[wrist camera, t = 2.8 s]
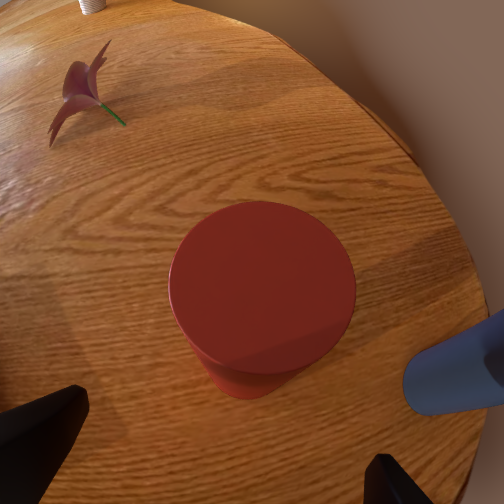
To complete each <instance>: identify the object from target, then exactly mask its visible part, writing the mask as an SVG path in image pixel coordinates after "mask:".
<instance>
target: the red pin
mask: <svg viewBox="0 0 504 504" xmlns="http://www.w3.org/2000/svg"><path fill="white" fill-rule="evenodd" d="M168 292H169V300H170V305H171V308H172V312H173V315H174V317H175V319H176V322H177V324H178V326H179V327H180V329H181V331H182V332H183V334H184V336H185V337H186V339H187V341H188V342H189V344H190V345H191V347H192V349H193V350H194V352H195V353H196V355H197V357H198V358H199V360H200V361H201V363H202V364H203V366H204V367H205V369H206V371H207V372H208V374H209V375H210V377H211V378H212V380H213V381H214V383H215V384H216V385H217V386H218V387H219V388H220V389H221V390H222V391H223V392H225V393H226V394H228V395H230V396H232V397H235V398H239V399H256V398H260V397H262V396H265V395H267V394H268V393H270V392H272V391H273V390H275V389H276V388H278V387H279V386H281V385H282V384H284V383H285V382H287V381H289V380H290V379H292V378H293V377H295V376H296V375H297V374H299V373H300V372H302V371H303V370H305V369H306V368H308V367H309V366H311V365H312V364H313V363H315V362H316V361H318V360H319V359H320V358H322V357H323V356H324V355H326V354H327V353H328V352H329V351H330V350H331V349H332V348H333V347H334V346H335V345H336V344H337V343H338V341H339V340H340V339H341V337H342V336H343V334H344V333H345V331H346V329H347V327H348V325H349V323H350V321H351V318H352V315H353V312H354V307H355V302H356V282H355V275H354V271H353V267H352V264H351V261H350V259H349V256H348V254H347V252H346V251H345V249H344V247H343V245H342V244H341V243H340V241H339V240H338V238H337V237H336V236H335V235H334V234H333V233H332V232H331V230H329V229H328V228H327V227H326V226H325V225H324V224H323V223H321V222H320V221H319V220H317V219H316V218H314V217H313V216H311V215H309V214H307V213H306V212H304V211H301V210H299V209H297V208H294V207H291V206H288V205H284V204H279V203H274V202H262V201H259V202H246V203H239V204H235V205H231V206H228V207H225V208H223V209H220V210H218V211H216V212H214V213H212V214H210V215H209V216H207V217H206V218H204V219H203V220H201V221H200V222H199V223H198V224H197V225H196V226H194V227H193V228H192V229H191V230H190V232H189V233H188V234H187V235H186V236H185V238H184V239H183V241H182V242H181V244H180V245H179V247H178V249H177V251H176V253H175V255H174V257H173V261H172V264H171V267H170V272H169V279H168Z"/></svg>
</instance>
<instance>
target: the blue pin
mask: <svg viewBox="0 0 504 504" xmlns="http://www.w3.org/2000/svg"><path fill="white" fill-rule="evenodd" d="M403 390H404V395H405V398H406V400H407V402H408V404H409V405H410V407H411V408H412V409H413V410H414V411H416V412H417V413H419V414H422V415H426V416H432V415H441V414H449V413H456V412H463V411H470V410H476V409H481V408H487V407H492V406H497V405H502V404H504V309H503V310H501V311H499V312H498V313H496V314H494V315H492V316H490V317H489V318H487V319H485V320H483V321H482V322H480V323H478V324H476V325H474V326H472V327H471V328H469V329H467V330H465V331H463V332H461V333H459V334H457V335H455V336H453V337H451V338H449V339H447V340H445V341H443V342H441V343H439V344H437V345H435V346H433V347H431V348H428V349H426V350H424V351H422V352H420V353H418V354H417V355H416V356H414V357H413V358H412V360H411V361H410V362H409V364H408V366H407V368H406V370H405V374H404V378H403Z"/></svg>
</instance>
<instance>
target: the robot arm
mask: <svg viewBox="0 0 504 504" xmlns="http://www.w3.org/2000/svg"><path fill="white" fill-rule="evenodd" d="M89 408H90V407H89V401H88V395H87V391H86V389H85V388H83V387H81V386H78V385H71V386H69V387H66V388H64V389H61V390H59V391H56V392H54V393H51V394H49V395H46V396H44V397H41V398H39V399H36V400H34V401H31V402H29V403H26V404H24V405H21V406H18V407H16V408H13V409H10V410H8V411H5V412H2V413H0V504H38V503H39V501H40V500H41V498H42V496H43V495H44V493H45V491H46V490H47V488H48V486H49V485H50V483H51V481H52V480H53V478H54V476H55V475H56V473H57V471H58V470H59V468H60V467H61V465H62V463H63V462H64V460H65V458H66V457H67V455H68V454H69V452H70V450H71V449H72V447H73V445H74V443H75V440H76V438H77V436H78V434H79V432H80V430H81V428H82V425H83V423H84V421H85V419H86V417H87V415H88V413H89ZM363 504H433V502H432V501H431V500H430V499H429V498H428V497H427V496H426V494H425V493H424V492H423V491H422V490H421V489H420V488H419V487H418V485H417V484H416V483H415V482H414V481H413V480H412V479H411V477H410V476H409V475H408V474H407V473H406V472H405V471H404V469H403V468H402V467H401V466H400V465H399V464H398V462H397V461H396V460H395V459H394V458H393V457H392V456H391V455H390V454H377V455H376V456H375V457H374V459H373V460H372V461H371V463H370V464H369V466H368V467H367V469H366V471H365V481H364V501H363Z"/></svg>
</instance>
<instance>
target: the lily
mask: <svg viewBox="0 0 504 504" xmlns="http://www.w3.org/2000/svg"><path fill="white" fill-rule="evenodd" d="M111 40H112V39H111ZM111 40H110V41H109V42H108V43H107V44H106V45H105V46H104V47H103V49H102V50H101V51H100V52H99V54H98V55H97V56H96V58H95V59H94V61H93V62H92V64H91V66H90V68H89V67H88V65H87V64H85V63H83V62H80V61H75V62H73V64H72V65H71V66H70V68H69V70H68V72H67V74H66V78H65V81H64V85H63V94H62V95H63V99H64V101H65V104H64V105H63V106H62V107H61V109H60V110H59V112H58V114H57V115H56V117H55V119H54V120H53V122H52V124H51V126H50V129H49V131H48V133H49V132H50V131H51V130H52V129H53V131H52V134H51V138H50V144H49V147H51V146H52V144H53V142H54V139H55V137H56V135H57V133H58V131H59V129H60V128H61V126H62V124H63V123H64V121H65V120H66V118H68V117H70V116H72V115H74V114H76V113H78V112H81V111H83V110H85V109H87V108H89V107H92V106H94V105H100V106H101V107H103V108H104V109H105V110H107V111H108V112H109V113H110V114H111V115H112V116H114V117H115V118H116V119H117V120H118V121H119V122H120V123H121V124H122V125H123V126H125V125H126V124H125V123H124V122H123V121H122V120H121V119H120V118H119V117H118V116H117V115H116V114H114V113H113V112H112V111H111V110H110V109H109V108H107V107H106V106H105V105H104V104H102V103H101V102H100V100H99V98H98V92H97V84H96V74H97V71H98V70H99V68H100V67H101V66H102V65H103V63H104V62H105V61H106V60H107V57H104V58H102V56H103V54H104V52H105V50H106V49H107V47H108V45H109V43H110V42H111Z"/></svg>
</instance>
